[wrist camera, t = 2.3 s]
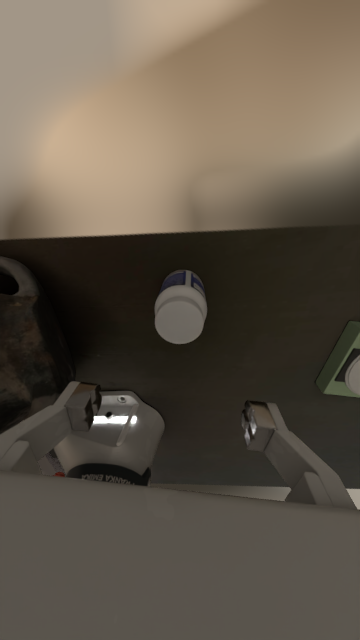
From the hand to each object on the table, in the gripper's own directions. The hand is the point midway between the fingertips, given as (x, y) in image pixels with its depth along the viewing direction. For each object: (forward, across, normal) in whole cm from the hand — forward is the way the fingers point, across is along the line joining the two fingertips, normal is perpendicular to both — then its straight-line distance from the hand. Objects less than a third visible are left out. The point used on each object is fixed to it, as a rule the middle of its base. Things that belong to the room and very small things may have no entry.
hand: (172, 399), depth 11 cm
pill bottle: (+19, 0, 0) cm, 19 cm away
